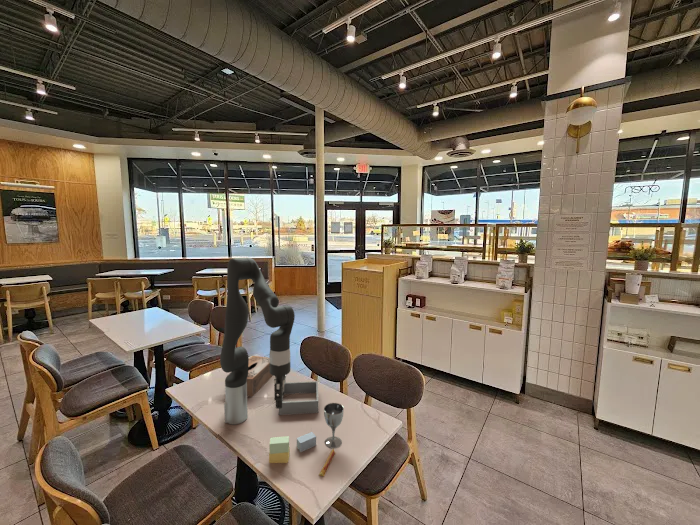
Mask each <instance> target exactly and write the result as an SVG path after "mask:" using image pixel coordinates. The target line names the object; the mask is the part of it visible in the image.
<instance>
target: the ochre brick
mask: <svg viewBox="0 0 700 525" xmlns="http://www.w3.org/2000/svg"><path fill="white" fill-rule="evenodd" d="M290 449H291V448H290V446H289V452H286V453H275V454H270V452H269V453H268V463H269V464H288V463H289V460H290V456H291V455H290Z"/></svg>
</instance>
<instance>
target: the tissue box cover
mask: <svg viewBox="0 0 700 525" xmlns="http://www.w3.org/2000/svg"><path fill="white" fill-rule="evenodd" d="M248 358H249V365H248V377H247V397H250V398H253V397H254V396H255V395H256V394H257V393H258V392H259V391H260V390H261V389H262V388H263V387H264V385H265V384H266V383H267V382H268V381H269V380H270V379H271V378H272V377H274V376H273V375H271V374H270V361H269V357H268V356H267V357H265V356H257V355H251V356H249V357H248Z"/></svg>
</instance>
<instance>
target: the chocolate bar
mask: <svg viewBox="0 0 700 525" xmlns="http://www.w3.org/2000/svg"><path fill="white" fill-rule="evenodd" d="M335 455H336V451H335V449H332V450H330V453H329V455H328V456H327V459H326V460H325V462H324V464H323V466H322V467H321V470H320V472H319V473H318V476H320V477H325V476H326V474H327V472H328V470H329V467H330V465H331V463H332V462H333V459H334V457H335Z"/></svg>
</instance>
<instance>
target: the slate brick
mask: <svg viewBox="0 0 700 525" xmlns="http://www.w3.org/2000/svg"><path fill="white" fill-rule="evenodd" d="M316 446H317V436H316V434H315V433H314V432H313V431H310V432H308V433H306V434H302V435H301V436H298V437H296V448H297V450H298V451H299V453H302V452H304V451H307V450H308V449H309V450H310V449H311V448H313V447H316Z"/></svg>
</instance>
